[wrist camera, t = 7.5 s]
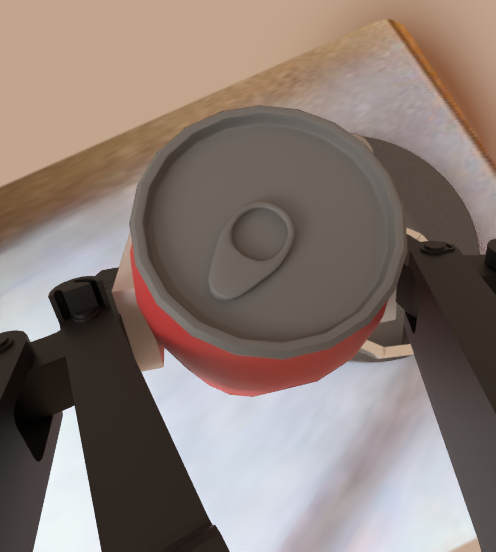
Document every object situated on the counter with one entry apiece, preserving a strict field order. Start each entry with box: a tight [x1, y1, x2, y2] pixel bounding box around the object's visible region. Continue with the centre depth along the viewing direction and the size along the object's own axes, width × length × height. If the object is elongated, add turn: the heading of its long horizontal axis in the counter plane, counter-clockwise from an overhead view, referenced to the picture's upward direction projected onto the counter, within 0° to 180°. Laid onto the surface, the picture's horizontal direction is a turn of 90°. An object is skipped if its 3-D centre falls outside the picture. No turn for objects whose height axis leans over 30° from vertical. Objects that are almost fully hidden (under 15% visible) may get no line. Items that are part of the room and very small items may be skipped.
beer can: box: [129, 105, 407, 397], centre depth 13 cm, size 7×7×12 cm
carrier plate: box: [349, 133, 480, 363], centre depth 33 cm, size 22×22×5 cm
